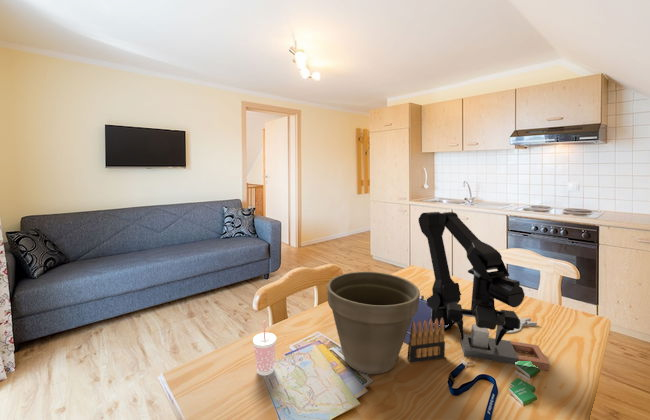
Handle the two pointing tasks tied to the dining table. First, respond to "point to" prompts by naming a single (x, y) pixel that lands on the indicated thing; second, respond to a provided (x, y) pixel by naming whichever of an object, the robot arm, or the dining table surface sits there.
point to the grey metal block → (479, 337)
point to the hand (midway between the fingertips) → (479, 342)
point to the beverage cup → (264, 352)
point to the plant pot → (372, 317)
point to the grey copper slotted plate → (506, 352)
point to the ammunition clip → (426, 342)
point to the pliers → (523, 324)
